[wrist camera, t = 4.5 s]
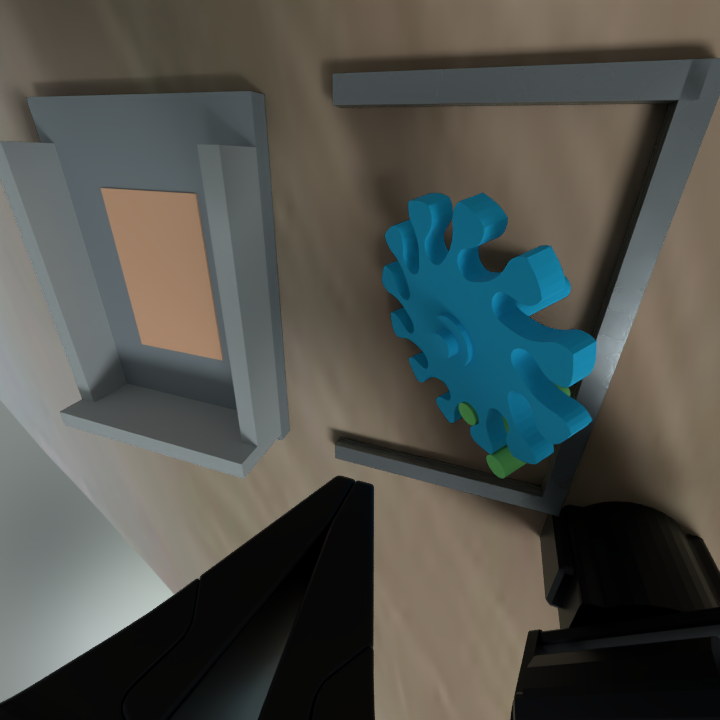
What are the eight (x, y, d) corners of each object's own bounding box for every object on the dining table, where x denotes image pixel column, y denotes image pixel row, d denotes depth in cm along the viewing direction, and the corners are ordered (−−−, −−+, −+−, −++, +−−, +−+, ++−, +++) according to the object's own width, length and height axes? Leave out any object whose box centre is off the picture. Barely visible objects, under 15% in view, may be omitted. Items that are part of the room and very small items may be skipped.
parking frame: (721, 64, 12) (734, 57, 11) (556, 504, 20) (558, 516, 20) (340, 77, 15) (332, 73, 14) (339, 449, 24) (335, 457, 23)
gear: (345, 224, 17) (517, 162, 8) (455, 183, 18) (704, 92, 9) (416, 432, 20) (589, 560, 11) (502, 384, 22) (714, 461, 13)
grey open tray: (264, 94, 16) (179, 70, 12) (289, 430, 25) (245, 485, 20) (46, 100, 20) (-77, 83, 16) (132, 391, 28) (67, 431, 24)
